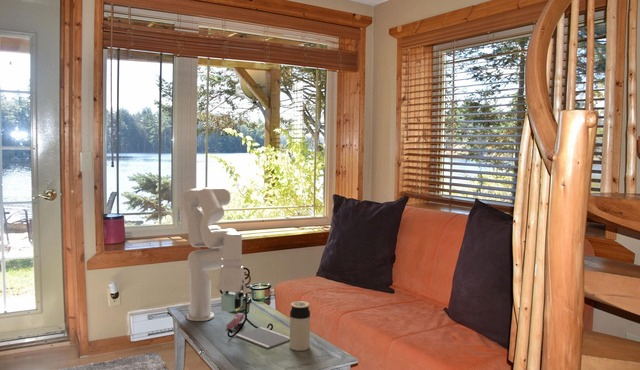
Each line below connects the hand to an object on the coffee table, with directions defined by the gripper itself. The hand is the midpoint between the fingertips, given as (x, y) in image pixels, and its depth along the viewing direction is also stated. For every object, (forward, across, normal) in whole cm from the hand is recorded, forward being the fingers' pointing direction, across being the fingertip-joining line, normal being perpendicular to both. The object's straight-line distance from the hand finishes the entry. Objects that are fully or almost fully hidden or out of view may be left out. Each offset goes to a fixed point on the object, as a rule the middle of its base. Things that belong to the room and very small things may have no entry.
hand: (232, 306), depth 226 cm
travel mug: (+15, +27, +7) cm, 32 cm away
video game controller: (+16, -9, +18) cm, 26 cm away
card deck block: (+1, 0, 0) cm, 1 cm away
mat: (+15, +9, +10) cm, 21 cm away
